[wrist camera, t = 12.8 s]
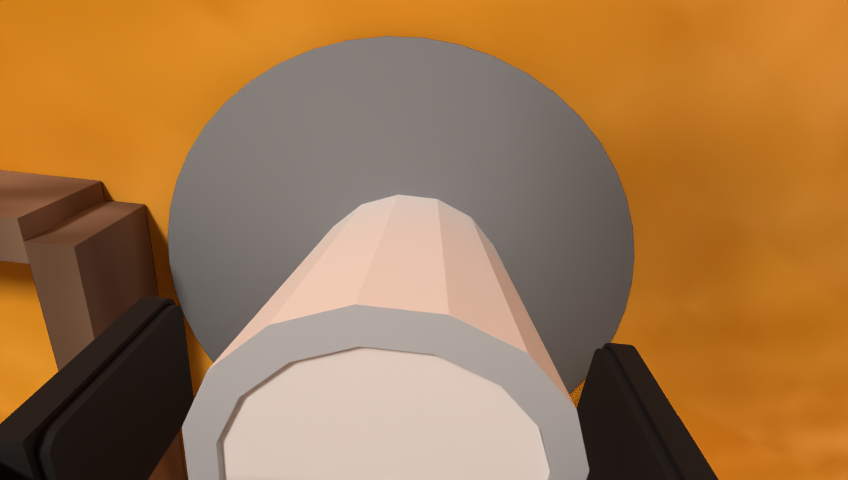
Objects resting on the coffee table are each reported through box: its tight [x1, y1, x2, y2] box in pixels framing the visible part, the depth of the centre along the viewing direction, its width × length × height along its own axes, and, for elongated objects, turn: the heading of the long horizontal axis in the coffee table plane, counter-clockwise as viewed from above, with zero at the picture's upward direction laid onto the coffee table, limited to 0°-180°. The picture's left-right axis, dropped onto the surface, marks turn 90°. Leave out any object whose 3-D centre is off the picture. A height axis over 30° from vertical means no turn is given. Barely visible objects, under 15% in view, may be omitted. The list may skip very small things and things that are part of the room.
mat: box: [168, 36, 634, 394], centre depth 15 cm, size 14×14×1 cm
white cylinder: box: [182, 195, 589, 480], centre depth 11 cm, size 7×7×7 cm
